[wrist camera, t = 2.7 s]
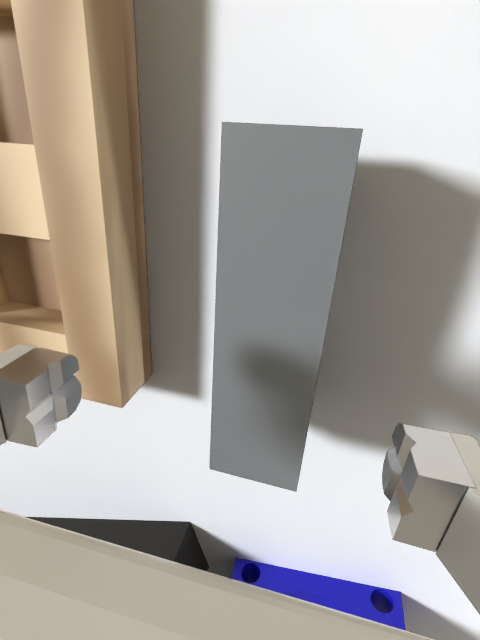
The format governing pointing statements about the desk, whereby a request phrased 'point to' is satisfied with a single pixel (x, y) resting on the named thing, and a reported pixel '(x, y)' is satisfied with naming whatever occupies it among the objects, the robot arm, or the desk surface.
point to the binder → (141, 537)
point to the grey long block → (274, 289)
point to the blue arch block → (325, 591)
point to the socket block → (73, 191)
